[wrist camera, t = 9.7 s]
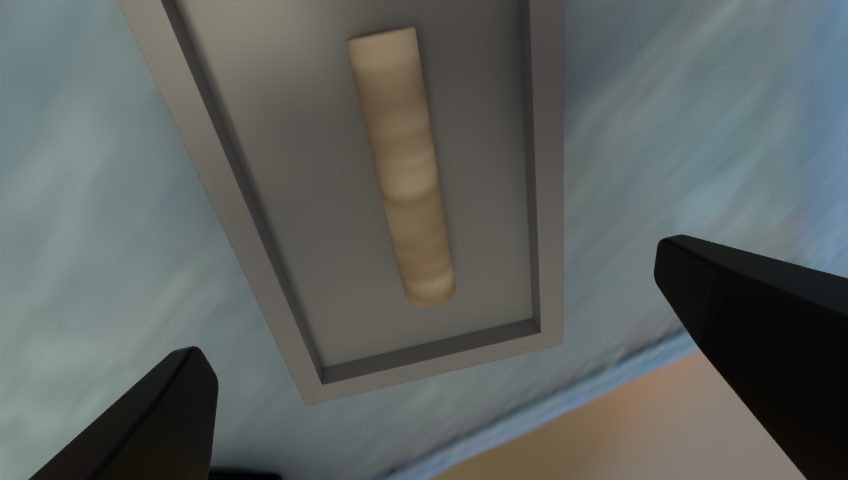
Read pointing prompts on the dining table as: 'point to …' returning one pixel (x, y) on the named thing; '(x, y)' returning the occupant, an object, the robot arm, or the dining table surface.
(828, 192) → the dining table surface
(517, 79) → the charcoal frame
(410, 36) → the wooden dowel
